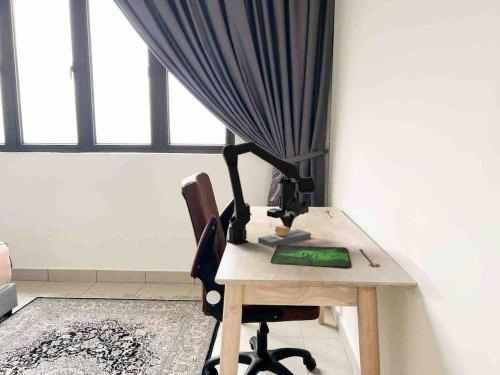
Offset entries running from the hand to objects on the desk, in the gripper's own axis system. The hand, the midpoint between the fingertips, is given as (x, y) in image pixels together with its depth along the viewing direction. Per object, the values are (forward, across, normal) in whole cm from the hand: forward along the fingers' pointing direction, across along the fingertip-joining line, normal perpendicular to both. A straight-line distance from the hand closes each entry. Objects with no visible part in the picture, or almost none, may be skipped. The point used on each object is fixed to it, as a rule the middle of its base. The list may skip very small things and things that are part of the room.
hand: (287, 231), depth 157 cm
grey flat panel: (+3, -2, 0) cm, 4 cm away
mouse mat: (+4, -8, -20) cm, 22 cm away
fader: (+1, -3, 0) cm, 3 cm away
